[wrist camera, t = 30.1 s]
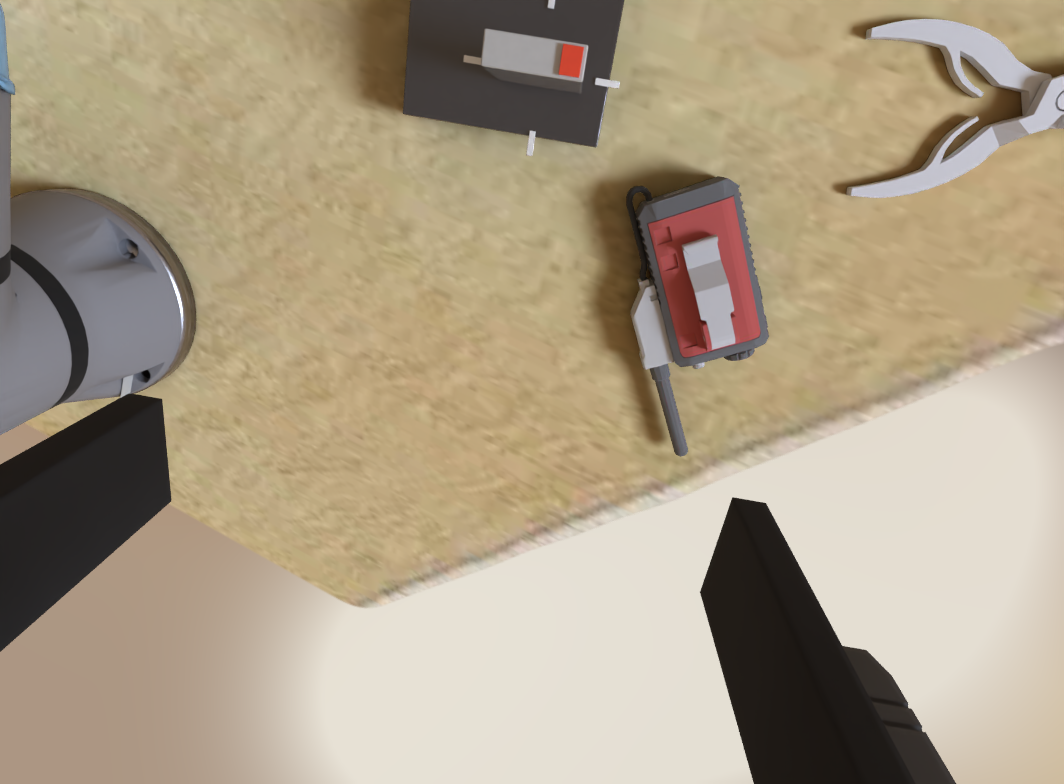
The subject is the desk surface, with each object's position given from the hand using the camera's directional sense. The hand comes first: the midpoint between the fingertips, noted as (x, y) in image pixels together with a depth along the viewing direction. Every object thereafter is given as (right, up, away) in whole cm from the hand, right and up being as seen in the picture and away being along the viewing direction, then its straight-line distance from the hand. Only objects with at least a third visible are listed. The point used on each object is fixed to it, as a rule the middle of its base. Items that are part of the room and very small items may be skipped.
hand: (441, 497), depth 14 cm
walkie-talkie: (+14, +8, +29) cm, 33 cm away
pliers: (+30, +20, +23) cm, 43 cm away
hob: (+1, +24, +23) cm, 33 cm away
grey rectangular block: (+3, +21, +21) cm, 30 cm away
